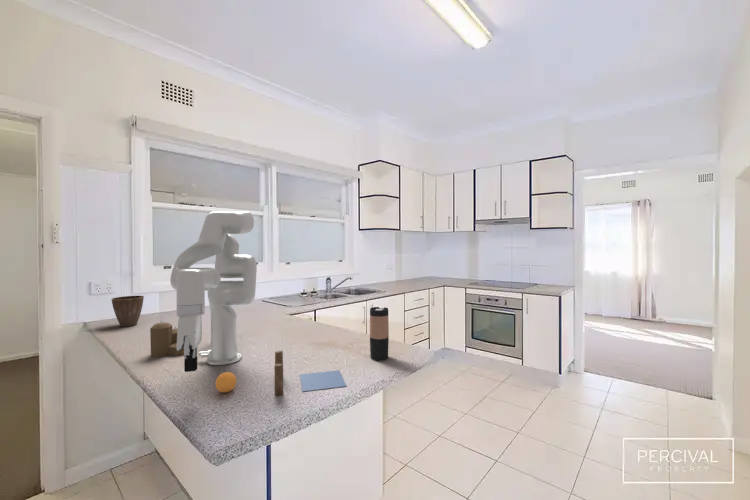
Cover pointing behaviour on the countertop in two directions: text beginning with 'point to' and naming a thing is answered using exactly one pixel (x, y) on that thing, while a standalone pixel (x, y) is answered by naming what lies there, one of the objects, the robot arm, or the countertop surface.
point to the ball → (225, 382)
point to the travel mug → (379, 333)
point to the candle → (164, 340)
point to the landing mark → (321, 380)
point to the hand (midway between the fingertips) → (191, 370)
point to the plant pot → (127, 309)
